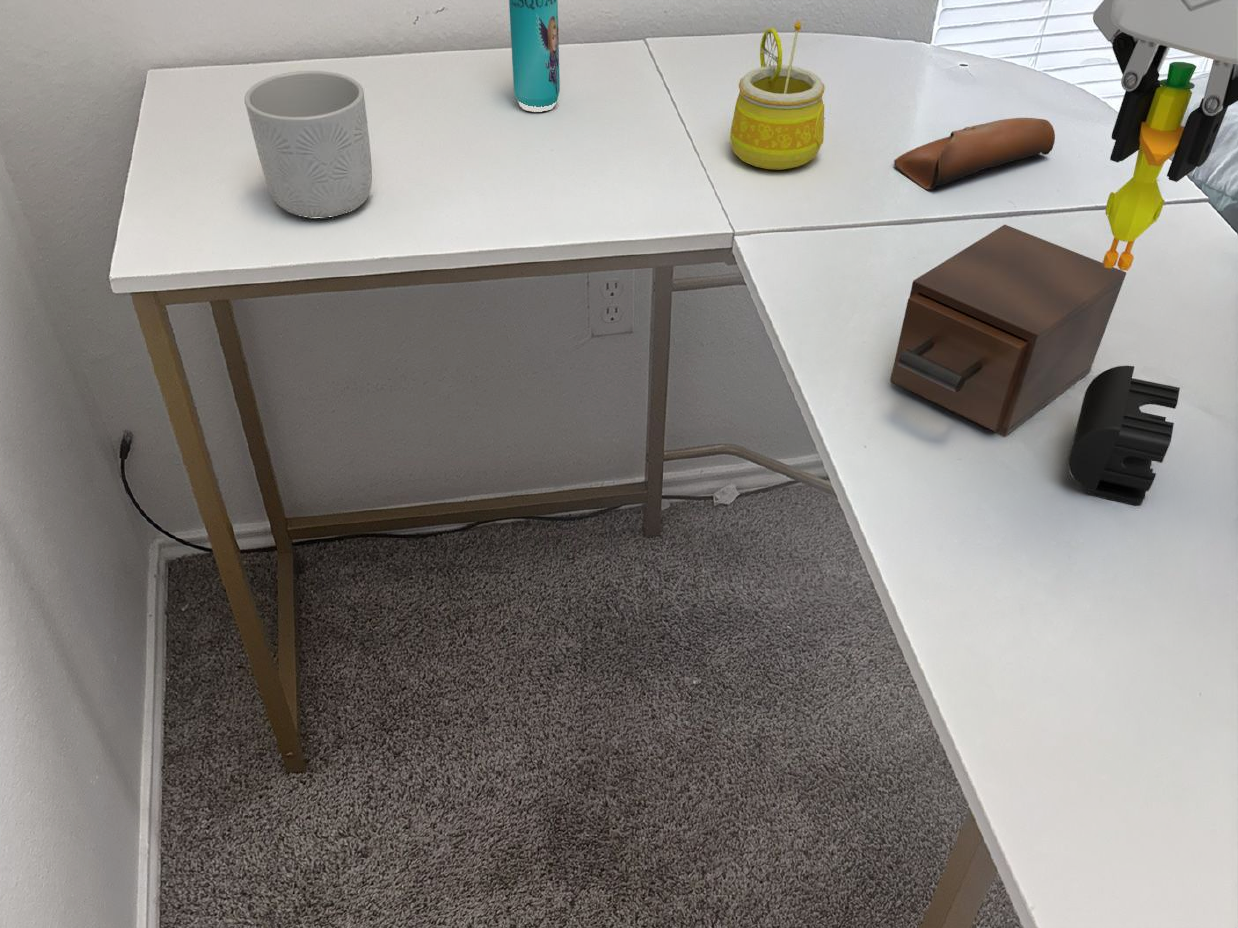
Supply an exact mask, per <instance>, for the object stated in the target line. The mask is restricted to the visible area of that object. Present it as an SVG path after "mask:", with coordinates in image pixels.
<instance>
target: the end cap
mask: <svg viewBox="0 0 1238 928" xmlns="http://www.w3.org/2000/svg"><path fill="white" fill-rule="evenodd" d="M1134 371H1135V365H1118V366H1114V367H1110V368H1108V369H1106V370H1103V371H1102V372H1100V373H1099V374H1098V375H1096V376H1095V377H1094V378H1093V379H1092V380H1091V381H1090V383H1089V384H1088V385H1087V387H1086V390H1085V392H1084V395H1083V400H1082V404H1081V407H1080V410H1079V411H1080V412H1079V414H1078V419H1077V423H1076V426H1075V431H1074V434H1073V438H1072V442H1071V445H1070V450H1069V454H1068V459H1067V463H1068V464H1067V465H1068V469H1069V473H1070V475H1071V477H1072V479H1074V481H1075V482H1076V483H1077V484H1079V486H1080V487H1081V488H1082V489H1083V490H1084V491H1085V492H1086V493H1087V494H1089V495H1092V496H1094V497H1096V498H1101V499H1105V500H1110V501H1115V502H1119V503H1124V504H1129V505H1133V506H1139V505H1141V504H1143V503H1144V499H1145V498H1146V494H1147V492H1149V491H1150V489H1151V487H1152V485H1153V483H1154V480H1155V479H1156V476H1157V473H1156V472H1154V468H1151V467H1152V462H1157V463H1163V461H1164V459H1165V457H1166V455H1167V453H1168V450H1169V447H1170V446H1171V443H1172V438H1173V437H1172V436H1173V431H1174V425H1175V423H1174V422H1171V421H1167V417H1166V416H1163V415H1159V414H1158V415H1157V414H1152V413H1148V412H1145V411H1144V412H1143V411H1142V410H1141V407H1143V406H1146V405H1154V406H1159V407H1164V408H1170V409H1174V410H1176V408H1177V406H1178V403H1179V395H1180V392H1181V391H1180V390H1181V387H1178V386H1175V385H1174V386H1173V385H1168V384H1163V383H1159V382H1153V381H1148V380H1145V379H1144V380H1143V379H1138V378H1135V377H1134V378H1133V375H1134Z"/></svg>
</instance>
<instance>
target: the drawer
mask: <svg viewBox="0 0 1238 928" xmlns="http://www.w3.org/2000/svg"><path fill="white" fill-rule="evenodd" d="M909 297H910V296H909ZM909 297H908V299H907V303H906V306H905V312H904V315H903V316H904V317H903V320H902V325H901V329H900V333H899V338H898V343H897V348H896V353H895V356H894V361H893V364H892V365H893V366H892V370H891V375H890V379H889V380H890V382H891V381H893V382H895V383H897V384H899V385H901V386H903V387H905V388H907V389H909V390H908V391H910V390H911V391H910V392H912V391H913V392H912V393H914V392H916V393H918V394H920V395H922V396H924V397H926V398H928V399H930V400H932V401H934V402H936V403H938V404H940V405H942V406H941V407H943V406H944V407H943V408H945V407H946V408H945V409H947V408H949V409H951V410H953V411H955V412H957V413H959V414H961V415H963V416H965V417H967V418H969V419H971V420H973V421H975V422H974V423H976V422H977V423H976V424H978V423H979V424H978V425H980V424H982V425H984V426H986V427H988V428H990V429H992V430H994V431H995V430H996V429H998V428H999V427H1000V426H1002V424H1003V420H1004V417H1005V414H1006V411H1007V408H1008V405H1009V402H1010V398H1011V395H1012V392H1013V389H1014V386H1015V383H1016V380H1017V376H1018V373H1019V370H1020V367H1021V364H1022V361H1023V358H1024V354H1025V351H1026V348H1027V345H1028V343H1027V340H1025V339H1023V338H1021V337H1018V336H1016V335H1014V334H1012V333H1009V332H1007V331H1005V330H1002V329H1000V328H998V327H996V326H993V325H991V324H989V323H987V322H984V321H982V320H980V319H977V318H975V317H973V316H971V315H968V314H966V313H964V312H961V311H959V310H957V309H955V308H952V307H950V306H948V305H946V304H943V303H941V302H939V301H936V300H934V299H932V298H930V299H927V298H925V297H923V296H921V295H918V294H915V295H913V296H911V297H910V298H909ZM893 382H892V383H893ZM895 383H894V384H895ZM897 384H896V385H897ZM899 385H898V386H899ZM901 386H900V387H901ZM903 387H902V388H903ZM905 388H904V389H905ZM907 389H906V390H907ZM916 393H915V394H916ZM918 394H917V395H918ZM920 395H919V396H920ZM922 396H921V397H922ZM924 397H923V398H924ZM926 398H925V399H926ZM928 399H927V400H928ZM930 400H929V401H930ZM932 401H931V402H932ZM934 402H933V403H934ZM936 403H935V404H936ZM938 404H937V405H938ZM940 405H939V406H940ZM949 409H948V410H949ZM951 410H950V411H951ZM953 411H952V412H953ZM955 412H954V413H955ZM957 413H956V414H957ZM959 414H958V415H959ZM961 415H960V416H961ZM963 416H962V417H963ZM965 417H964V418H965ZM967 418H966V419H967ZM969 419H968V420H969ZM971 420H970V421H971ZM973 421H972V422H973ZM982 425H981V426H982ZM984 426H983V427H984ZM986 427H985V428H986ZM988 428H987V429H988ZM990 429H989V430H990ZM992 430H991V431H992ZM994 431H993V432H994Z"/></svg>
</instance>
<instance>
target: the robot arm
mask: <svg viewBox="0 0 1238 928" xmlns="http://www.w3.org/2000/svg"><path fill="white" fill-rule="evenodd" d="M1092 21H1093V23H1094V25H1095V26H1096V27H1097V29H1098V30H1099V31H1100V32H1101V34H1102V35H1103V36H1104V38H1105V39H1106V41H1107V42H1108V43H1110V44H1111V45H1112V47H1111V49H1112V52H1113V54H1114V56H1115V59H1116V62H1117V64H1118V66H1119V69H1120V73H1121V74H1122V77H1121V81H1120V84H1121V87H1122V89H1123V90H1124V91H1125V92H1124V95H1123V98H1122V101H1121V104H1120V108H1119V110H1118V113H1117V117H1116V119H1115V123H1114V126H1113V129H1112V131H1111V140H1112V141H1113V140H1114V141H1115V142H1114V145H1113V148H1112V150H1111V153H1110V157H1109V160H1110V161H1111V162H1115V163H1120V162H1123V161H1125V160H1126V159H1127V158H1129V157H1130V156H1132V155H1134V154H1135V153H1136V152H1138V151H1139V146H1140V140H1139V138H1140V130H1141V124H1142V122H1146V119H1147V116H1148V113H1149V110H1150V107H1151V104H1152V101H1153V98H1154V95H1155V92H1156V89H1157V88H1159V87H1160V86H1162V85H1160V84H1159V82H1160V81H1161V79H1159V78H1160V71H1161V69H1162V67H1163V64H1164V62H1165V60H1166V59H1167V56H1168V53H1169V52H1170V49H1174V50H1176V51H1177V50H1178V51H1181V52H1183V53H1184V52H1186V53H1189V54H1192V55H1195V56H1199V57H1202V58H1206V59H1210V60H1212V63H1211V68H1210V72H1209V76H1208V79H1207V80H1208V81H1207V83H1206V88H1205V91H1204V95H1203V97H1202V98H1201V100H1200V103H1199V106H1198V107H1196V108H1195V109H1194V110H1192V111H1191V112H1190V113H1189V115H1188V116H1187V119H1186V121H1185V125H1184V126H1183V127H1184V130H1183V132H1182V135H1181V138H1180V140H1179V144H1178V147H1177V149H1176V151H1175V153H1174V154H1173V157H1172V160H1171V163H1170V166H1169V168H1168V171H1167V173H1166V177H1168V180H1169V181H1172V182H1175V183H1178V182H1179V181H1181V180H1182V179H1183V178H1185V177H1186V176H1188V175H1189V174H1190V173H1192V172H1193V171H1195V169H1196V168H1200V167H1201V166H1203V165H1204V164H1205V162H1206V161H1207V159H1208V158H1209V156H1210V154H1211V152H1212V149H1213V147H1214V144H1215V143H1216V142H1215V141H1216V139H1217V136H1218V134H1219V131H1220V129H1221V126H1222V123H1223V121H1224V119H1225V116H1226V113H1227V111H1228V108H1229V107H1230V106H1232V105H1233V104H1235V103H1236V102H1238V0H1102V2H1101V3H1100V4H1099V5H1098V6H1097V8H1095V10H1094V12H1093V14H1092Z"/></svg>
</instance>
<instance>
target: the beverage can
mask: <svg viewBox="0 0 1238 928" xmlns="http://www.w3.org/2000/svg"><path fill="white" fill-rule="evenodd" d="M508 5H509V8H508V9H509V21H510V22H509V24H510V25H509V26H510V44H511V45H510V46H511V60H512V61H511V62H512V80H513V93H514V95H515V99H516V98H517V99H516V101H517V100H518V101H519V102H521V103H523V104H525V105H528V106H533V107H534V106H536V107H541V106H542V107H544V106H549V105H552V104H553V103H555V102H556V101H557V102H558V98H559V95H560V92H561V87H560V86H561V84H560V83H561V81H560V45H559V6H558V0H508ZM518 101H517V102H518ZM557 102H556V103H557Z"/></svg>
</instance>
